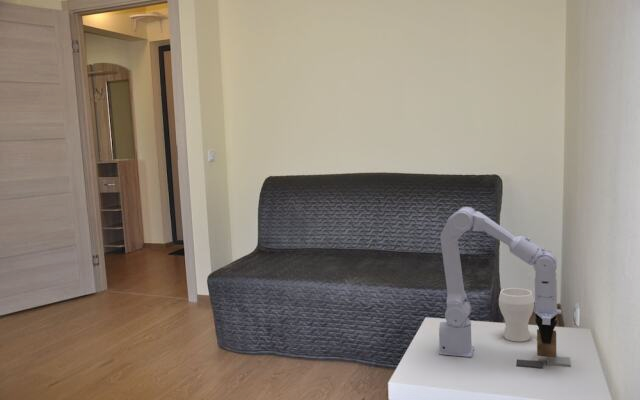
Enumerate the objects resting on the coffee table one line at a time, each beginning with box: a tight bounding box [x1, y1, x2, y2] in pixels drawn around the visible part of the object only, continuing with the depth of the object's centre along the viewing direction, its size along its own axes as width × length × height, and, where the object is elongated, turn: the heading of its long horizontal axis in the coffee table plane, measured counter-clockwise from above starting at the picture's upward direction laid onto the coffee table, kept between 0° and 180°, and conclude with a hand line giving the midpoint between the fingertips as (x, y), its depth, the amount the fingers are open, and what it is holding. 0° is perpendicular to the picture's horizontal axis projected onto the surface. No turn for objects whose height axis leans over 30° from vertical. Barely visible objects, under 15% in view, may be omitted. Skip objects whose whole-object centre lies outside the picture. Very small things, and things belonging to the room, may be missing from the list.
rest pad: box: [515, 358, 544, 369], centre depth 154 cm, size 7×4×1 cm, turn 69°
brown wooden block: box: [536, 328, 557, 358], centre depth 155 cm, size 5×2×7 cm, turn 69°
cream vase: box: [498, 287, 535, 342], centre depth 174 cm, size 11×11×15 cm
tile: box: [546, 355, 572, 368], centre depth 155 cm, size 1×5×6 cm
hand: (546, 341), depth 155 cm, fingers closed on brown wooden block, 2 cm apart
